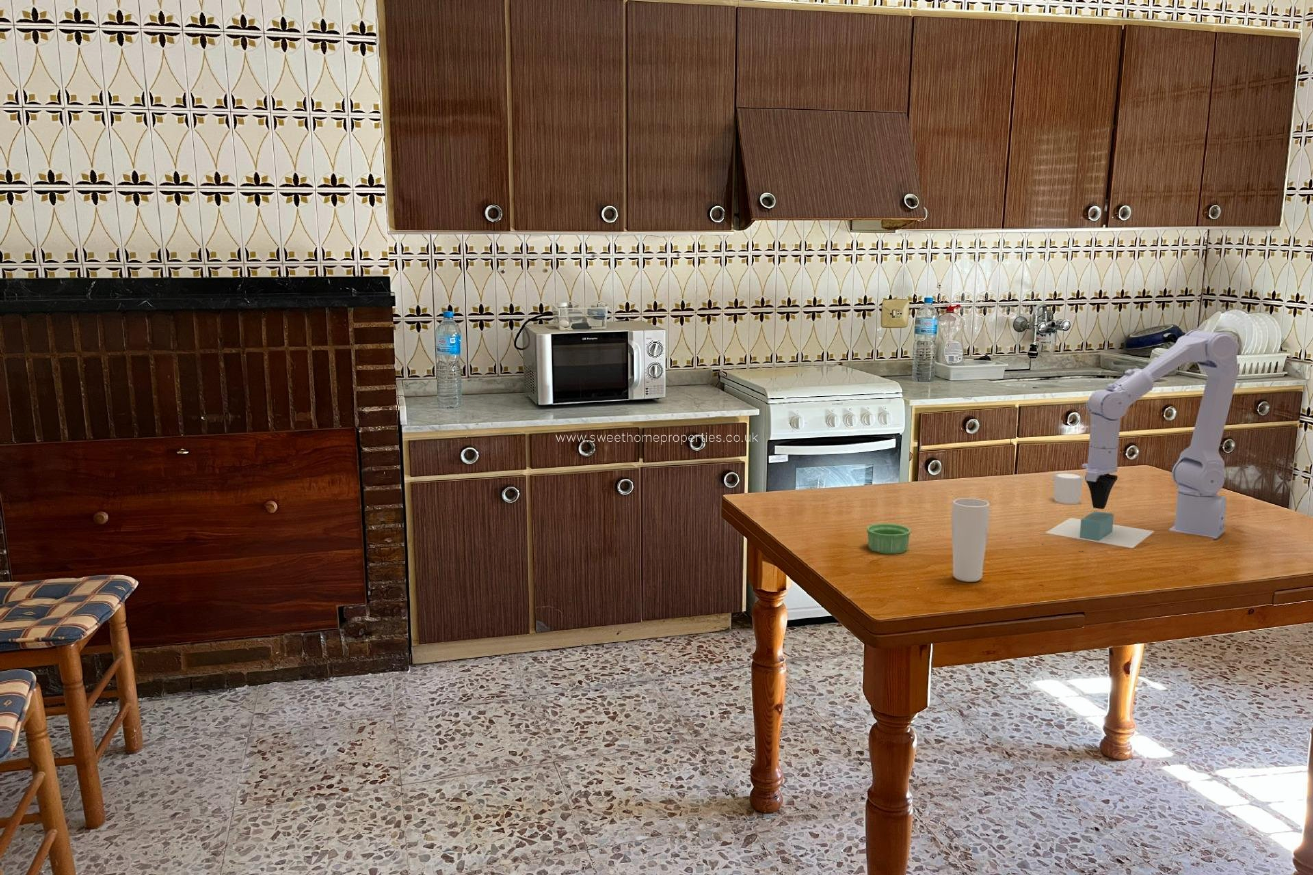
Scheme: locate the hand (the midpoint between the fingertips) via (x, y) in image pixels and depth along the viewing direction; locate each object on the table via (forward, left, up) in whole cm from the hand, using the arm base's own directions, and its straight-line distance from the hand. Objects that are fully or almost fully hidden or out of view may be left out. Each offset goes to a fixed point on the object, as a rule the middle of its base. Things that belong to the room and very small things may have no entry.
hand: (1098, 508), depth 219 cm
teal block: (0, -4, -4) cm, 5 cm away
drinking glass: (+10, +44, -7) cm, 46 cm away
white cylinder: (+15, -25, -7) cm, 30 cm away
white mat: (0, -2, -6) cm, 7 cm away
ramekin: (+31, +36, -7) cm, 48 cm away
